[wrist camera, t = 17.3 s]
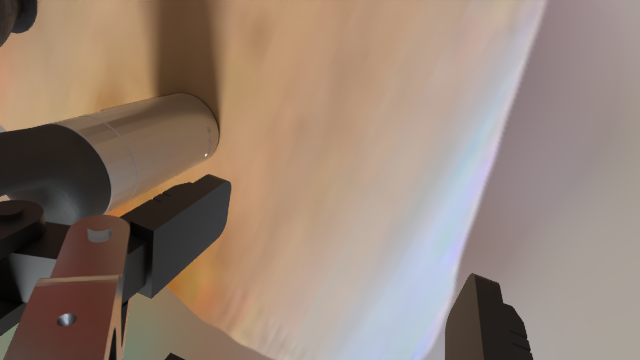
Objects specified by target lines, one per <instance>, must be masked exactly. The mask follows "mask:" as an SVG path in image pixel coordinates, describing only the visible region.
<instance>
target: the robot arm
mask: <svg viewBox="0 0 640 360" xmlns="http://www.w3.org/2000/svg"><path fill="white" fill-rule="evenodd" d="M218 140H219V132H218V126H217V123H216V120H215V117H214V116H213V114H212V112H211V110H210V109H209V108H208V107H207V106H206V104H204V103H203V102H202V101H201V100H200V99H198V98H196V97H195V96H193V95H189V94H186V93H178V94H173V95H168V96H164V97H161V96H159V97H154V98H150V99H146V100H141V101H137V102H133V103H129V104H124V105H120V106H116V107H111V108H107V109H103V110H101V111H100V112H96V113H92V114H87V115H83V116H79V117H75V118H71V119H67V120H63V121H58V122H54V123H50V124H45V125H41V126H37V127H33V128H28V129H21V130H15V131H8V132H2V133H0V197H1V196H3V195H7V196H8V197H9V198H10V199H11V200H9V201H2V202H0V336H1V335H3V334H4V333H5V332H7V331H8V330H9V329H11V328H12V327H13V326H15V325H16V324H17V323H19V324H18V326H17V328H16V331H15V333H14V335H13V338H12V340H11V343H10V345H9V347H8V350H7V352H6V354H5V356H4V359H3V360H123V352H124V344H125V337H126V329H127V322H128V313H129V305H130V298H131V297H132V296H133V295H134V294H136V293H137V292H138V293H140V294H142V295H144V296H146V297H149V298H153V297H154V296H155V295H156V294H157V293H158V292H159V291H160V290H161V289H163V288H164V287H165V286H166V285H167V284H168V283H169V282H170V281H171V280H172V279H174V278H175V277H176V276H177V275H178V274H179V273H180V272H181V271H182V270H183V269H185V268H186V267H187V266H188V265H189V264H190V263H191V262H192V261H193V260H194V259H195V258H197V257H198V256H199V255H200V254H201V253H202V252H203V251H204V250H205V249H206V248H208V247H209V246H210V245H211V244H212V243H213V242H214V241H215V240H216V239H217V238H218V237H219V236H220V235H221V234H222V232H223V230H224V228H225V225H226V222H227V215H228V208H229V201H230V194H231V183H230V182H229V181H227V180H224V179H221V178H219V177H216V176H213V175H211V174H208V175H206V176H204V177H202V178H201V179H199V180H197V181H196V182H194V183H191V182H188V183H184V184H180V185H176V186H173V187H171V188H170V189H168V190H166V191H164V192H163V193H162V194H159V195H157V196H156V197H154V198H153V200H151V199H150V200H149V201H147V202H145V203H143V204H142V205H140V206H138V207H136V208H135V209H133V210H131V211H130V212H128V213H126V214H124V215H123V216H121V217H116V216H111V215H105V214H107V213H109V212H111V211H112V210H114V209H116V208H118V207H120V206H122V205H124V204H125V203H127V202H129V201H131V200H133V199H134V198H136V197H138V196H140V195H142V194H144V193H146V192H147V191H149V190H151V189H153V188H155V187H157V186H159V185H160V184H162V183H164V182H166V181H168V180H170V179H172V178H173V177H175V176H177V175H179V174H181V173H183V172H185V171H187V170H188V169H190V168H192V167H194V166H196V165H198V164H200V163H201V162H203V161H205V160H207V159H208V158H210V157H211V156H212V154H213V153H214V152H215V150H216V148H217V145H218ZM530 350H531V349H530V345H529V341H528V340H527V334H526V330H525V326H524V322H523V321H522V319H521V318H520V317H519V315H518V314H517V312H516V311H515V309H514V308H513V307H512V306H510V305H507V304H504V303H503V299H502V294H501V289H500V285H499V283H497V282H495V281H492V280H489V279H487V278H484V277H481V276H479V275H476V274H473V273H472V274H470V276H469V277H468V278H467V280H466V282H465V284H464V286H463V288H462V290H461V292H460V294H459V296H458V298H457V299H456V301H455V303H454V305H453V307H452V309H451V311H450V313H449V316H448V319H447V323H446V329H445V360H533V357H532V354H531V353H530ZM165 360H184V359H182V358H180V357H178V356H176V355H174V354H172V353H170V354H169V355H168V356H167V358H166V359H165Z"/></svg>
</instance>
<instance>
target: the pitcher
mask: <svg viewBox="0 0 640 360" xmlns="http://www.w3.org/2000/svg"><path fill="white" fill-rule="evenodd" d="M36 15H37V2H36V0H0V47H1V46H2V45H3V44H4V43H5V41H6V40H7V38H8V37H9V35H10V33H11V32H12V33H23V32H25V31H28V30H29V29H30V28H31V27H32V25H33V23H34V22H35V18H36Z"/></svg>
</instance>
